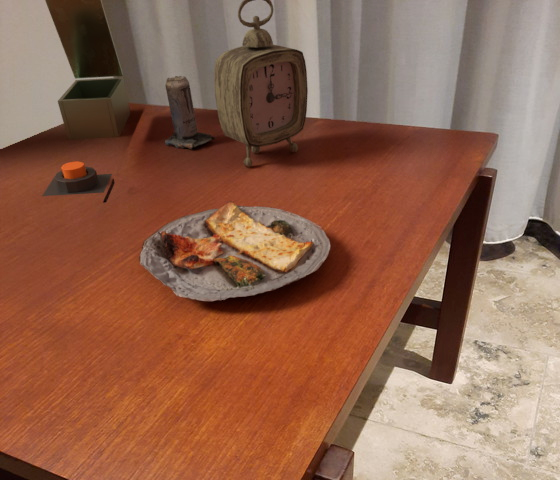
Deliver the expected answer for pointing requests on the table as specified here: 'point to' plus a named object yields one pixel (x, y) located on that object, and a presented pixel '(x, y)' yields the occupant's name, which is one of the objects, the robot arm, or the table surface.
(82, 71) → the lid
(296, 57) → the tabletop clock
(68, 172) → the button
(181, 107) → the beverage can
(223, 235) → the food plate
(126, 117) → the machine
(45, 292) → the table surface
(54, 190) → the panel
